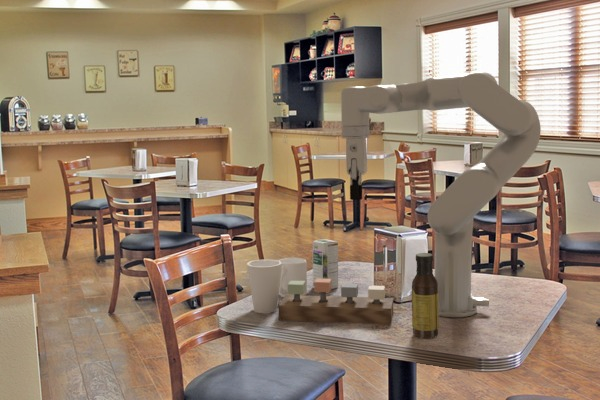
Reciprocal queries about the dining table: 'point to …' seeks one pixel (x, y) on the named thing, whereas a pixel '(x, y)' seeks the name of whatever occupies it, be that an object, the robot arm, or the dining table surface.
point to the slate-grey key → (349, 291)
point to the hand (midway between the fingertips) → (356, 199)
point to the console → (336, 310)
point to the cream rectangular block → (376, 293)
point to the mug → (292, 274)
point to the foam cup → (264, 284)
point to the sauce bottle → (425, 299)
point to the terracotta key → (322, 287)
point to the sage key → (296, 289)
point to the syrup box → (325, 261)
